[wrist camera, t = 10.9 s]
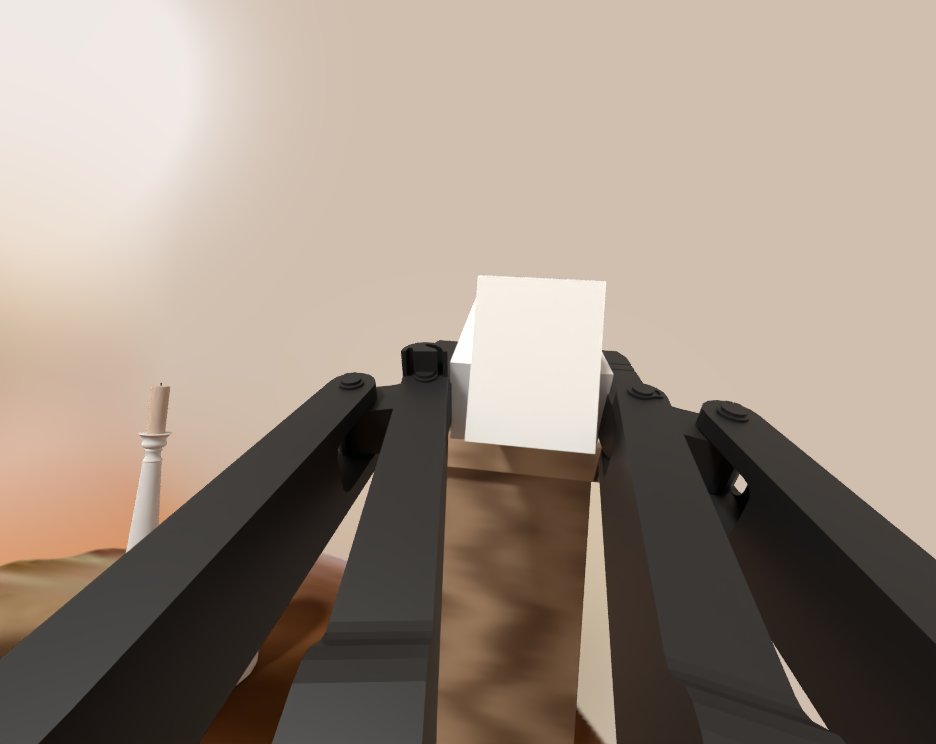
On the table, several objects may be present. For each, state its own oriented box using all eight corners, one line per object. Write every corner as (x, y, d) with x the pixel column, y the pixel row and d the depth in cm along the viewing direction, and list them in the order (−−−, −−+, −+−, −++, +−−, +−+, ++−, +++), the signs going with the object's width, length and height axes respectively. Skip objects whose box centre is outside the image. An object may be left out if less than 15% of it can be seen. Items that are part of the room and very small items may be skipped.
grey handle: (343, 428, 9) (363, 230, 9) (464, 400, 35) (468, 352, 36) (736, 468, 8) (746, 244, 8) (554, 408, 34) (557, 358, 35)
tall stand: (370, 942, 20) (415, 428, 22) (425, 717, 34) (450, 412, 35) (580, 998, 19) (615, 447, 20) (548, 740, 33) (570, 423, 34)
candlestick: (76, 648, 39) (108, 383, 40) (57, 601, 46) (85, 377, 47) (209, 596, 50) (232, 387, 51) (177, 564, 57) (197, 382, 58)
